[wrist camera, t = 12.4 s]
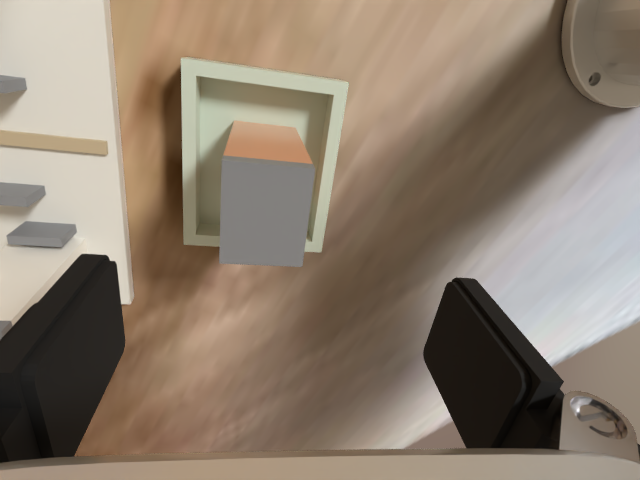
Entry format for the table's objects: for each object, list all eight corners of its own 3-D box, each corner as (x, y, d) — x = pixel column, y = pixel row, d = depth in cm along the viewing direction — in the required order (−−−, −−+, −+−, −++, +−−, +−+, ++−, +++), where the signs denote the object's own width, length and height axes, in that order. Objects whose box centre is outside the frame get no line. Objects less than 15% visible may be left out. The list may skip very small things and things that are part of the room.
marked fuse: (295, 127, 25) (315, 169, 17) (288, 197, 27) (302, 267, 19) (234, 120, 25) (221, 160, 16) (231, 193, 27) (219, 263, 18)
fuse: (85, 237, 26) (1, 331, 18) (94, 297, 28) (22, 407, 20) (20, 234, 25) (-103, 330, 17) (33, 296, 28) (-69, 409, 19)
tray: (340, 79, 25) (349, 82, 23) (316, 237, 30) (321, 252, 28) (188, 56, 23) (180, 57, 21) (189, 229, 28) (183, 244, 26)
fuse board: (101, -100, 19) (74, -125, 17) (134, 301, 30) (122, 328, 27) (-190, -163, 17) (-278, -204, 14) (-42, 297, 28) (-75, 324, 25)
